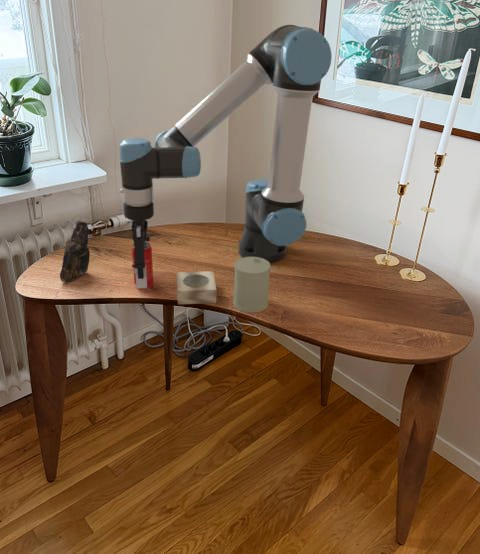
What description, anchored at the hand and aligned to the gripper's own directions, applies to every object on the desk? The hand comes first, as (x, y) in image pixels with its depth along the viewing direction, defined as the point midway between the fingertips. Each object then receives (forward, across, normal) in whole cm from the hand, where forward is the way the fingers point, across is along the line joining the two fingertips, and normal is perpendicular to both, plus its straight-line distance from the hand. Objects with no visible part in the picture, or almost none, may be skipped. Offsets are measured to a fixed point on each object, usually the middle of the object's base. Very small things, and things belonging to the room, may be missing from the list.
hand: (142, 275), depth 142 cm
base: (+3, +6, +14) cm, 16 cm away
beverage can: (+3, 0, 0) cm, 3 cm away
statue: (+3, -7, -19) cm, 20 cm away
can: (+3, +12, +28) cm, 31 cm away
